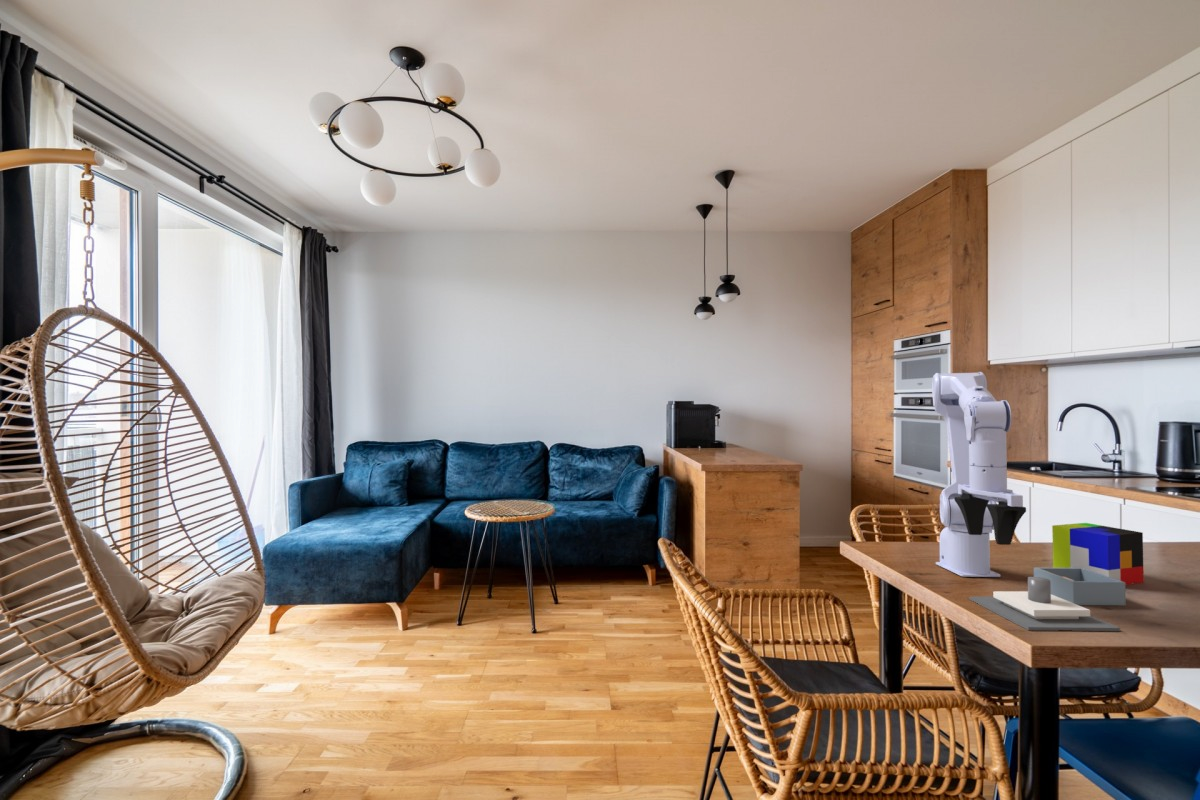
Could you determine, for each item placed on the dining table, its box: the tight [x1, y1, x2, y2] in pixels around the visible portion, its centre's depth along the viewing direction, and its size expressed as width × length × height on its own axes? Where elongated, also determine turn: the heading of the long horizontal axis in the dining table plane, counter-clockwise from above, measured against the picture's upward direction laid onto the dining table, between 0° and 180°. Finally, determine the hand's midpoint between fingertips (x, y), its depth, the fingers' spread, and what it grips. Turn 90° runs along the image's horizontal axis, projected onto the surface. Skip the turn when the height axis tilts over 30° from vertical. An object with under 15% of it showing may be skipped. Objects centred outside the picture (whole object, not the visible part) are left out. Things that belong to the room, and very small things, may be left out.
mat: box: [968, 596, 1121, 632], centre depth 91 cm, size 14×14×1 cm
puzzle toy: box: [1051, 522, 1145, 586], centre depth 112 cm, size 10×10×10 cm
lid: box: [992, 576, 1091, 619], centre depth 91 cm, size 9×9×5 cm
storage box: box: [1033, 567, 1127, 606], centre depth 100 cm, size 9×9×4 cm
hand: (988, 539), depth 101 cm, fingers open, 7 cm apart
